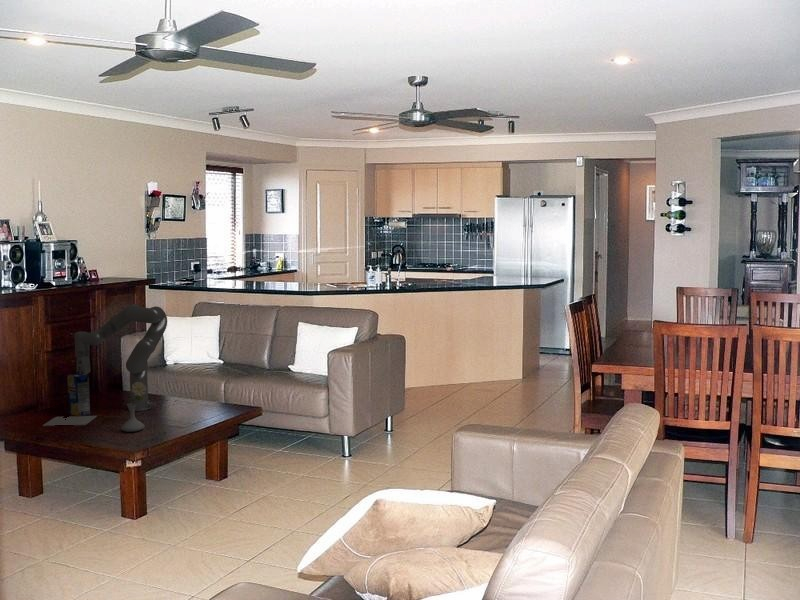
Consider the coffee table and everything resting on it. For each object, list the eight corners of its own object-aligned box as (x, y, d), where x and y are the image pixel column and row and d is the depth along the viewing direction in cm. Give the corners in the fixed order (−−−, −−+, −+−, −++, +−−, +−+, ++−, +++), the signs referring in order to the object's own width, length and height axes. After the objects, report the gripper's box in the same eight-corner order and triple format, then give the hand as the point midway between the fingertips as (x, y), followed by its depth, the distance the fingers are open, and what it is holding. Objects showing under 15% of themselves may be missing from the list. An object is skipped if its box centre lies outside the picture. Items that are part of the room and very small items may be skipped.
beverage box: (78, 416, 458) (76, 376, 456) (68, 414, 465) (67, 374, 464) (90, 414, 463) (88, 374, 461) (80, 412, 470) (78, 373, 469)
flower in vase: (122, 434, 419) (120, 385, 417) (120, 429, 430) (118, 381, 427) (149, 431, 424) (147, 382, 422) (146, 426, 435) (144, 379, 433)
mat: (97, 416, 459) (97, 415, 459) (85, 425, 439) (85, 424, 439) (56, 417, 458) (56, 416, 458) (42, 426, 438) (42, 425, 438)
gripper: (84, 355, 463) (86, 388, 465) (93, 351, 478) (94, 383, 480) (71, 356, 463) (72, 388, 464) (80, 351, 477) (81, 383, 479)
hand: (83, 386), depth 472 cm, fingers closed
